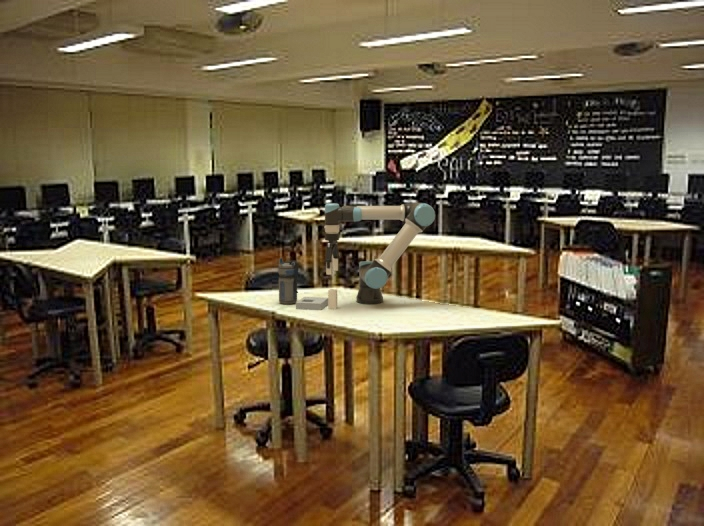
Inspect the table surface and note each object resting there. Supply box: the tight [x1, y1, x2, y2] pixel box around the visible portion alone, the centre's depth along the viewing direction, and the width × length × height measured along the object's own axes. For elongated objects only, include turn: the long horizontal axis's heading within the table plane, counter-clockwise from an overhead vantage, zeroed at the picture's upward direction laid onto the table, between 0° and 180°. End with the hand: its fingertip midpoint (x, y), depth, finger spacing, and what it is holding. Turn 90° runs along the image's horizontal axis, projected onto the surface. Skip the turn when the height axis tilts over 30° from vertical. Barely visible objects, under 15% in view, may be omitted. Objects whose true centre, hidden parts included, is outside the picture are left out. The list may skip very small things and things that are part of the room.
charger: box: [327, 288, 338, 310], centre depth 334 cm, size 4×4×10 cm
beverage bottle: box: [277, 257, 300, 305], centre depth 347 cm, size 10×13×25 cm
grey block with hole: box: [295, 296, 328, 311], centre depth 339 cm, size 14×16×4 cm
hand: (332, 272), depth 332 cm, fingers open, 13 cm apart
